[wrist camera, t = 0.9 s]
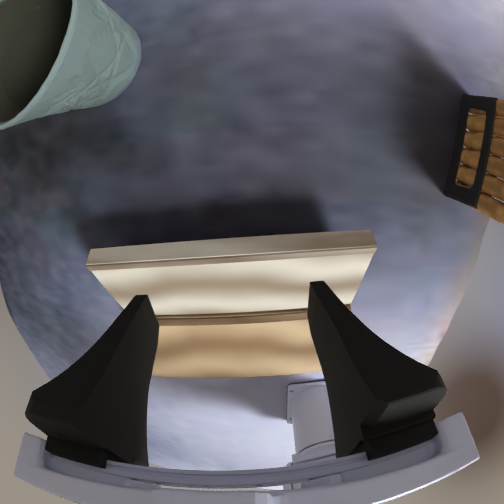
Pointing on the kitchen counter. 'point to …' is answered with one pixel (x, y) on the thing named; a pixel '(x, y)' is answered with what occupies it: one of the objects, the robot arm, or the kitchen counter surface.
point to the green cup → (62, 57)
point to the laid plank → (235, 344)
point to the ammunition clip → (479, 156)
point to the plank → (235, 271)
